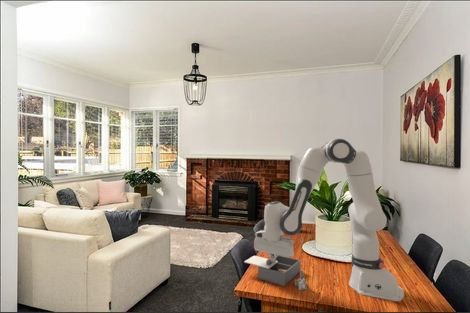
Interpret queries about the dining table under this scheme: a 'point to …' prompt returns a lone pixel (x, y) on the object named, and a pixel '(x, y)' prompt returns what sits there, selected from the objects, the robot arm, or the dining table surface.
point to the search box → (279, 277)
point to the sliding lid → (260, 262)
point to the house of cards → (301, 282)
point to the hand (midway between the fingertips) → (273, 262)
